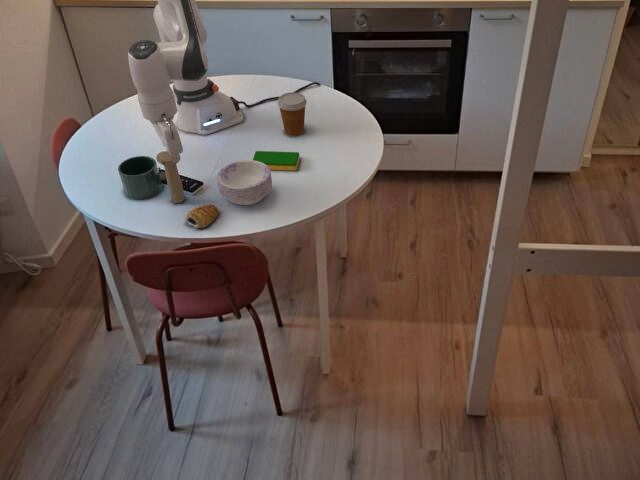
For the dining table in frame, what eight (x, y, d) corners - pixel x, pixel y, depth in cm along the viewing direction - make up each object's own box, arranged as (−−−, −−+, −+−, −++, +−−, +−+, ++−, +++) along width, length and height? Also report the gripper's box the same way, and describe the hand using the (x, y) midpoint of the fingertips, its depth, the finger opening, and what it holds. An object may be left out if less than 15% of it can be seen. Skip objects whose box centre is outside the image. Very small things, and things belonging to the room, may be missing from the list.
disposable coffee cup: (275, 135, 204) (271, 102, 196) (288, 122, 211) (285, 89, 203) (301, 140, 202) (298, 107, 194) (313, 127, 208) (311, 94, 200)
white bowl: (228, 180, 185) (224, 157, 180) (277, 182, 184) (275, 159, 178) (214, 210, 174) (210, 187, 168) (267, 213, 172) (264, 189, 167)
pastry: (207, 206, 175) (205, 195, 172) (225, 214, 172) (223, 203, 170) (183, 223, 169) (181, 212, 167) (201, 232, 166) (198, 221, 164)
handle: (184, 207, 175) (173, 162, 165) (164, 203, 176) (152, 158, 166) (192, 197, 178) (182, 153, 168) (173, 194, 180) (162, 149, 170)
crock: (157, 175, 187) (151, 152, 182) (166, 193, 180) (160, 170, 175) (121, 184, 184) (114, 161, 178) (129, 203, 177) (122, 180, 171)
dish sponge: (296, 171, 188) (296, 164, 187) (252, 169, 189) (251, 162, 188) (299, 158, 194) (299, 151, 192) (256, 157, 194) (255, 150, 193)
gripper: (182, 121, 152) (193, 168, 161) (160, 88, 165) (172, 133, 175) (157, 128, 150) (170, 175, 159) (137, 94, 163) (150, 139, 173)
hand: (171, 152), depth 167 cm, fingers open, 8 cm apart
